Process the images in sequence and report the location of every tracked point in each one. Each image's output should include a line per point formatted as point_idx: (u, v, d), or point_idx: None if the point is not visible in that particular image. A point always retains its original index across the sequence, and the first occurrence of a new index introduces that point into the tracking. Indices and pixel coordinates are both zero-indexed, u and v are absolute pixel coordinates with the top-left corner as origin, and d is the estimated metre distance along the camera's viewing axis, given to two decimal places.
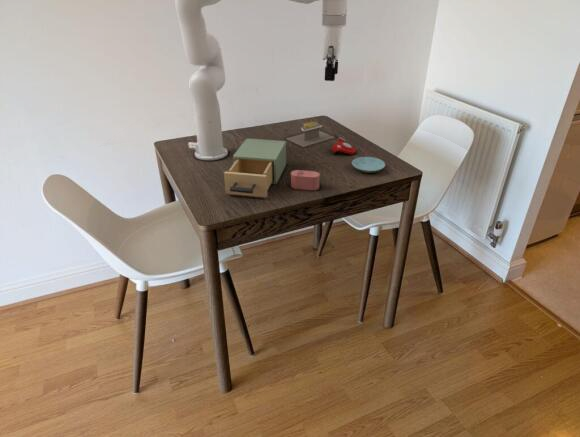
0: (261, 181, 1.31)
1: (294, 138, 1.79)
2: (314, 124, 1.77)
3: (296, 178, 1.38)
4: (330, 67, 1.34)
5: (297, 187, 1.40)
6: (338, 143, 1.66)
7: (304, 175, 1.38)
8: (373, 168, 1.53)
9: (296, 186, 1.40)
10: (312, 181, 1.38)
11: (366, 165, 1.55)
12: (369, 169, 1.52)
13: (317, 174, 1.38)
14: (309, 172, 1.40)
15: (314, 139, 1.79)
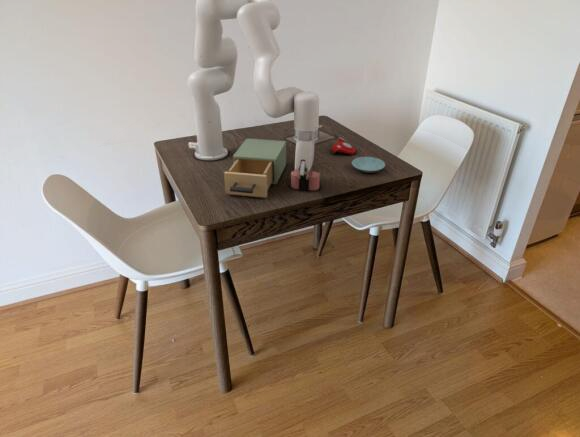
0: (261, 181, 1.31)
1: None
2: None
3: (296, 178, 1.38)
4: (303, 179, 1.36)
5: (297, 187, 1.40)
6: (338, 143, 1.66)
7: None
8: (373, 168, 1.53)
9: (296, 186, 1.40)
10: (312, 181, 1.38)
11: (366, 165, 1.55)
12: (369, 169, 1.52)
13: (317, 174, 1.38)
14: (309, 172, 1.40)
15: None
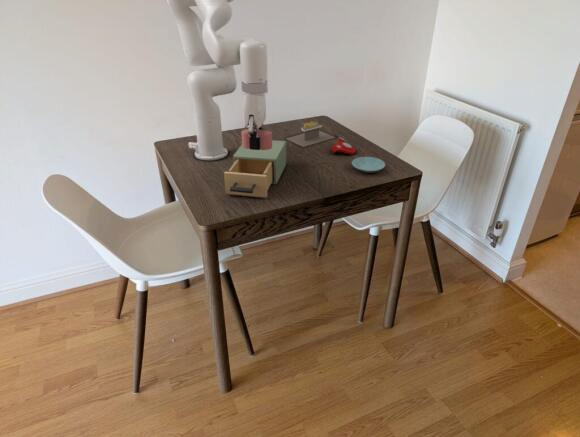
0: (261, 181, 1.31)
1: (294, 138, 1.79)
2: (314, 124, 1.77)
3: (247, 137, 1.29)
4: (254, 137, 1.27)
5: (248, 147, 1.31)
6: (338, 143, 1.66)
7: None
8: (373, 168, 1.53)
9: (247, 146, 1.31)
10: (263, 140, 1.29)
11: (366, 165, 1.55)
12: (369, 169, 1.52)
13: (269, 132, 1.30)
14: (261, 131, 1.31)
15: (314, 139, 1.79)
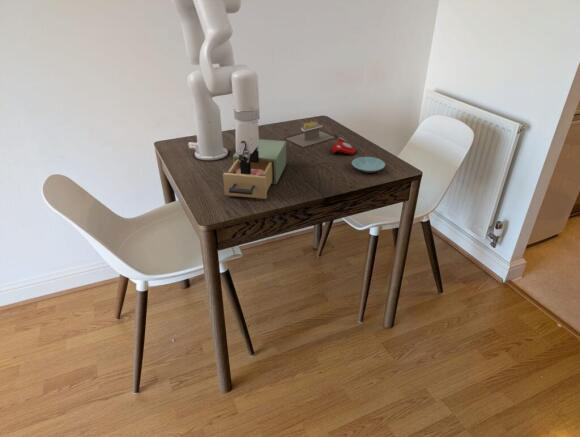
0: (260, 182, 1.30)
1: (294, 138, 1.79)
2: (314, 124, 1.77)
3: None
4: (244, 162, 1.28)
5: None
6: (338, 143, 1.66)
7: None
8: (373, 168, 1.53)
9: None
10: None
11: (366, 165, 1.55)
12: (369, 169, 1.52)
13: (261, 172, 1.35)
14: (254, 170, 1.36)
15: (314, 139, 1.79)
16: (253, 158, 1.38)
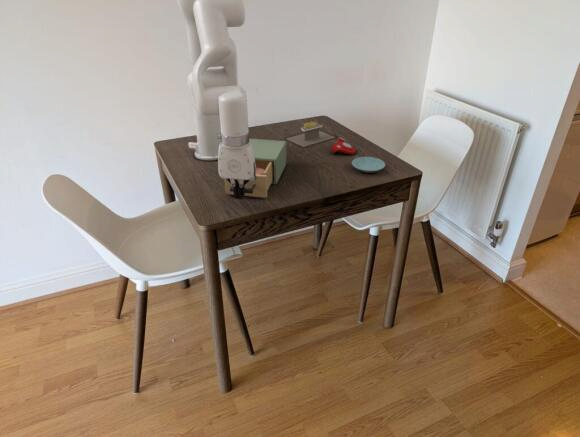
0: (261, 181, 1.30)
1: (294, 138, 1.79)
2: (314, 124, 1.77)
3: None
4: None
5: None
6: (338, 143, 1.66)
7: None
8: (373, 168, 1.53)
9: None
10: None
11: (366, 165, 1.55)
12: (369, 169, 1.52)
13: (262, 171, 1.36)
14: None
15: (314, 139, 1.79)
16: None
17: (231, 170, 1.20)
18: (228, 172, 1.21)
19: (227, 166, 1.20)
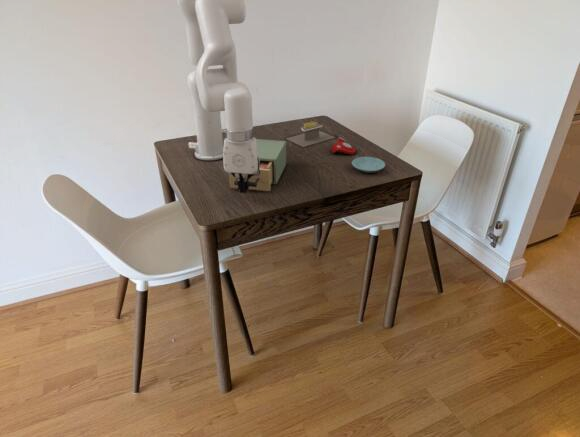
0: (264, 175, 1.34)
1: (294, 138, 1.79)
2: (314, 124, 1.77)
3: None
4: (248, 178, 1.29)
5: None
6: (338, 143, 1.66)
7: None
8: (373, 168, 1.53)
9: None
10: None
11: (366, 165, 1.55)
12: (369, 169, 1.52)
13: (265, 165, 1.39)
14: None
15: (314, 139, 1.79)
16: None
17: (236, 164, 1.24)
18: (233, 166, 1.24)
19: (232, 160, 1.23)
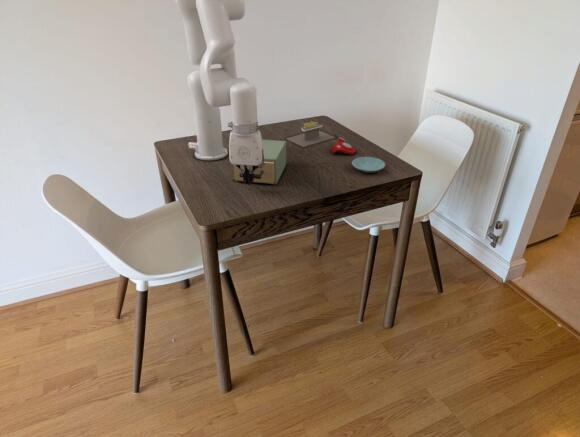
0: (269, 168, 1.39)
1: (294, 138, 1.79)
2: (314, 124, 1.77)
3: None
4: None
5: None
6: (338, 143, 1.66)
7: None
8: (373, 168, 1.53)
9: None
10: None
11: (366, 165, 1.55)
12: (369, 169, 1.52)
13: None
14: None
15: (314, 139, 1.79)
16: None
17: (241, 156, 1.29)
18: (238, 158, 1.29)
19: (237, 153, 1.28)
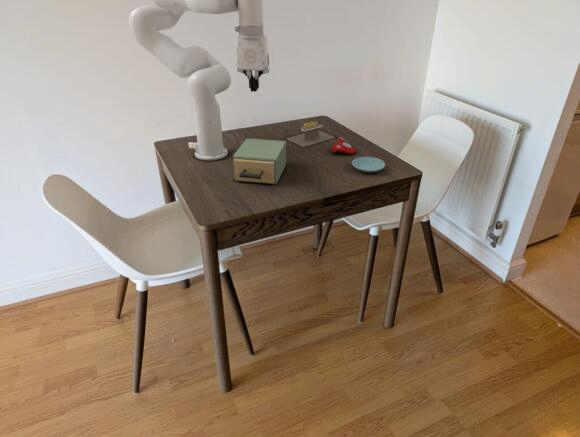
0: (269, 168, 1.39)
1: (294, 138, 1.79)
2: (314, 124, 1.77)
3: None
4: None
5: None
6: (338, 143, 1.66)
7: None
8: (373, 168, 1.53)
9: None
10: None
11: (366, 165, 1.55)
12: (369, 169, 1.52)
13: None
14: None
15: (314, 139, 1.79)
16: None
17: (247, 61, 1.35)
18: (245, 63, 1.36)
19: (244, 57, 1.35)
